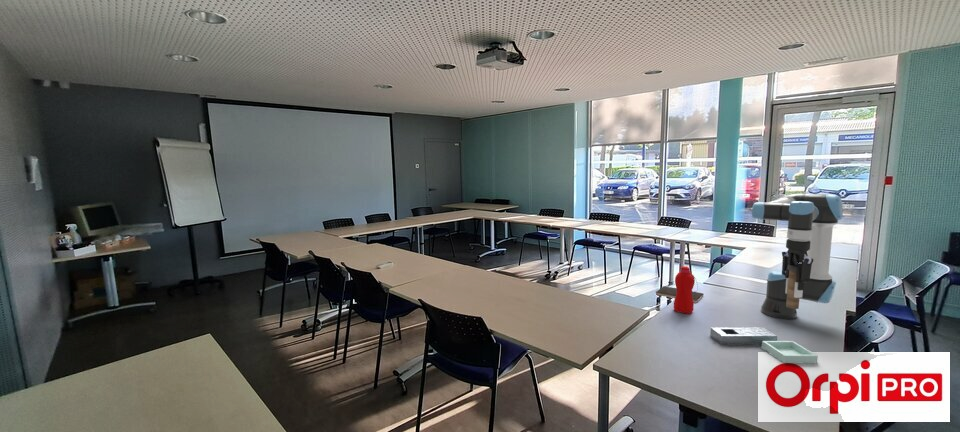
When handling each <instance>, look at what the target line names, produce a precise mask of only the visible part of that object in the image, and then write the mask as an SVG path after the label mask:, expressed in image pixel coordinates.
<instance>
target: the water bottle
mask: <svg viewBox="0 0 960 432" xmlns="http://www.w3.org/2000/svg"><path fill="white" fill-rule="evenodd" d="M695 283H698V282H697V280H696V277H695V275H694V274H693V273H692V271H691V268H690V267H689V266H685V265H684V266H680V271H679V272H678V273H677V274H676V275H675V277H674V284H675V288H676V289H677V294H676V297H675V298H674V301H673V309H674V311H675V312H676V313H683V314H688V315H689V314H691V313H693V311H694V303H695V302H693V298H692V291H693V290H694V287H695ZM696 286H697V288H696V289H697V290H695V292H698V289H699V286H698V284H696Z"/></svg>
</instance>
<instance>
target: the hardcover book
mask: <svg viewBox="0 0 960 432" xmlns="http://www.w3.org/2000/svg"><path fill="white" fill-rule="evenodd" d="M676 294H677V289H676V287H672V286H666V285H663V286H662V287H661V288H659V289H657V290H656V291H655V295H657V296H660V297H661V296H662V297H666V298H671V299H675V297H676ZM704 294H705V293H703V292H698V291H697V292H696V291H694V290H692V298H693V303H695V304H697V303H698V302H699V301H700V299H702V298H703V297H704Z"/></svg>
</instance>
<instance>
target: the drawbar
mask: <svg viewBox="0 0 960 432" xmlns="http://www.w3.org/2000/svg"><path fill="white" fill-rule="evenodd" d="M709 333H710V335H709V336H710V337H711V338H712V339H714V340H715V341H716V342H717V343H719V344H720V345H721V346H722V345H723V346H725V345H740V346H741V345H755V346H756V345H757V346H758V345H761V346H762V341H778V335H776V334H775V333H773V332H772V331H770V330H768V329H766V328H765V327H763V326H762V327H758V326H757V327H754V326H753V327H752V326H751V327H710V332H709Z"/></svg>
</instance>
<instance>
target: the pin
mask: <svg viewBox="0 0 960 432" xmlns="http://www.w3.org/2000/svg"><path fill="white" fill-rule="evenodd" d="M788 269H789V279H788V291H787V302H786V307H788V308H792V309H796V310H799V307H800V300H801V299H800V298H795V297H794V289H795V281H797V272H796V271H797V269H798V268H797V267H796V265H788Z"/></svg>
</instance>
